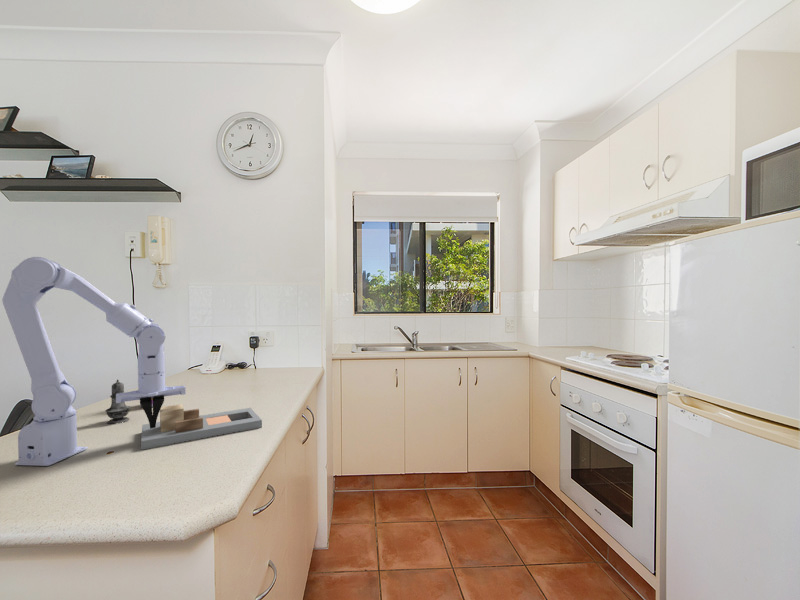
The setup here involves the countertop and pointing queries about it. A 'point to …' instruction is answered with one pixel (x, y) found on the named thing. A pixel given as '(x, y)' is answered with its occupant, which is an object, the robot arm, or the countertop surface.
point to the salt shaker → (117, 406)
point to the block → (170, 417)
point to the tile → (218, 420)
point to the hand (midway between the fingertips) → (152, 426)
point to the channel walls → (189, 421)
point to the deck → (239, 422)
